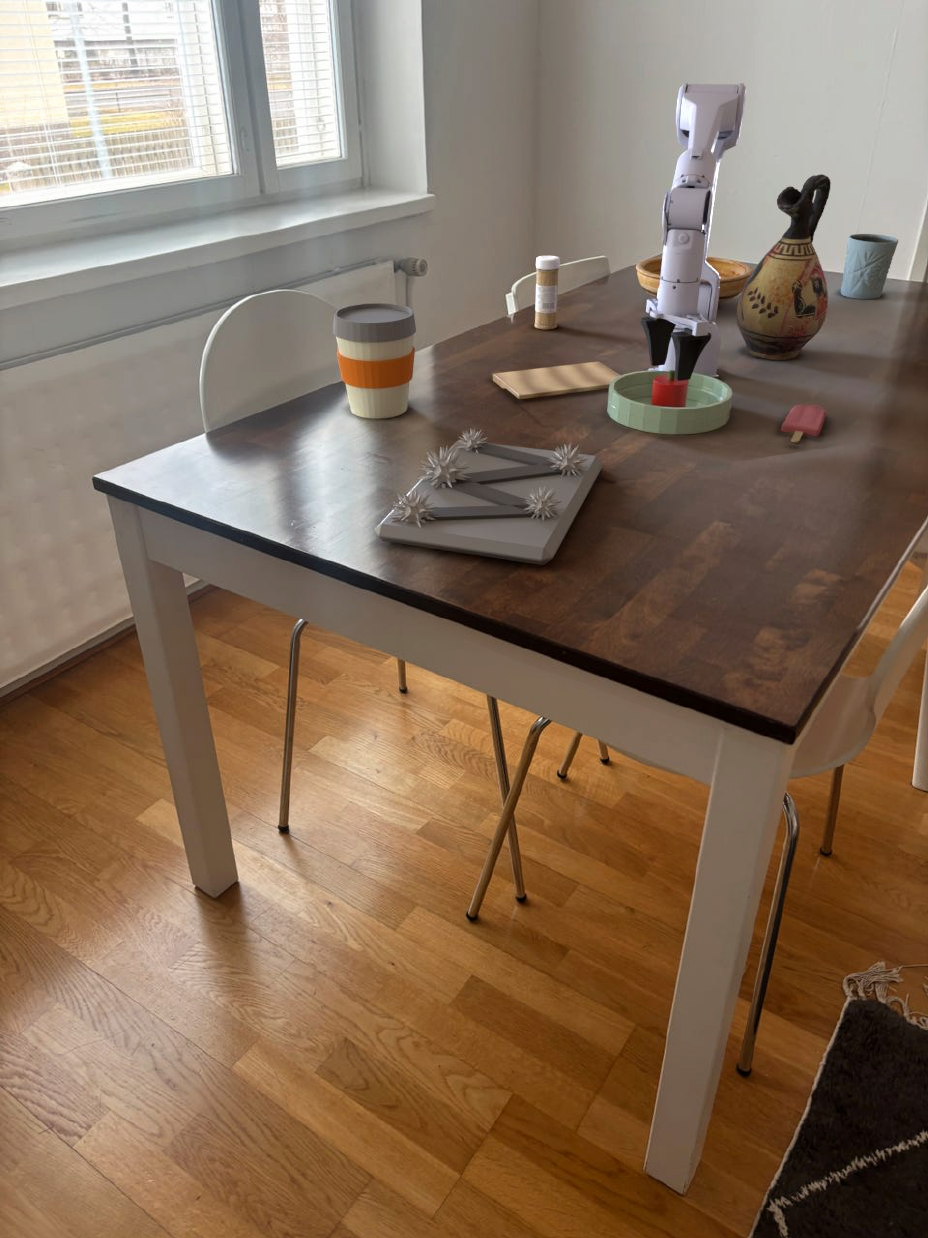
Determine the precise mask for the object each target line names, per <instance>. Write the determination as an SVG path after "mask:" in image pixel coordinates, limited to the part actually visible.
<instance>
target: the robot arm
mask: <svg viewBox="0 0 928 1238" xmlns="http://www.w3.org/2000/svg"><path fill="white" fill-rule="evenodd" d="M746 98H747V87H746V85H745V83H743V82H740V83H739V84H736V83H735V84H732V83H729V84H728V83H725V84H724V83H721V84H720V83H719V84H718V83H715V84H714V83H688V82H683V84H682V85H681V86H680V87H679V90H678V95H677V101H676V109H675V110H676V112H675V126H676V137H677V139H678V145H680V146H681V147H683V148H685V149H686V150H684V151H683V152H682V153H681V154H680V156H679V157H678V159H677V161H676V167H675V172H674V175H673V180H672V184H671V188H670V191H666V193H665V196H664V199H663V205H662V214H661V215H662V216H661V217H662V218H661V223H662V239H661V245H662V246H663V248H662V255H661V257H662V266H661V276H660V285H659V288H658V294H657V298H648V299H646V307H645V313H647V314H648V316H644V317H641V318H640V324H641V327H642V329H643V332H644V335H645V339H646V342H647V348H648V356H649V362H650V366H652V367H650V368H648V370H675V376H676V380H678V381H682V380H690V378H691V376H692V373H697V374H702V375H706V376H710V377H712V378H716V377H717V378H718V377H719V375H718V374H717V370H718V364H719V357H720V351H721V341H722V339H721V337H722V336H721V331H720V328H719V326H718V325H717V323H715V321H716V320H717V315H718V308H719V307H718V306H719V303H718V301H719V293H720V277H719V273H718V272H717V271H716V270H715V269H714V268H713V267H712V266H710V265H709V264H708V263H707V262H706V258H707V257H708V250H709V249H708V248H709V242H710V235H711V228H712V220H713V212H714V205H715V198H716V191H717V183H718V175H719V169H720V166H721V165H720V164H721V162H722V159H723V158H724V154H725V152H727V151H728V150H730V149H732V148H734V147H736V146H737V145H738V140H739V139H740V136H741V130H742V125H743V119H744V114H745V107H746ZM700 281H707V282H709V283H710V284H701V283H700Z"/></svg>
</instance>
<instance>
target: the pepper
mask: <svg viewBox="0 0 928 1238" xmlns="http://www.w3.org/2000/svg"><path fill="white" fill-rule="evenodd" d="M688 383H689V381H688V380H682V381H678V380H676V376H675V371H674V370H670V371H669V375H661V376H657V377H655V378H654V382H653V392H652V402H651V405H654V406H661V407H676V408H679V407H686V399H687V391H688Z"/></svg>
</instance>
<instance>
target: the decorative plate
mask: <svg viewBox="0 0 928 1238" xmlns="http://www.w3.org/2000/svg"><path fill="white" fill-rule="evenodd" d="M482 430H483V429H480V431H476V428H470V431H468V430H467V429H466V430H464V429H463V431H462V437H461V436H458V438H459V439H458V440H456V441H455V443H453V444H452V445H451V446H450V447H449V448H448V446H446V448H444V446H443V447H442V446H440V448H439V455H438V454H437V453H436V451H435V450H433V449H432V450H433V451H432V450H431V449H429V451H430V453H431V454H430V453H429V452H426V454H427V459H428V460H429V462H426V461H423V460H419V462H420V463H422V465H420V466H421V467H420V466H419V467H417V469H420V470H422V471H424V472H426V473H425V474H423V475H422V476H420V477H418V478H417V479H418V480H419V479H420V480H419V481H418V482H417V483H416V484H415V485H414V486H413V487H412V488H410V489H409V492H407V494H406V493H405V492H404V491H402V490H400V492H401V494H402V496H401V495H400V494H399V493H398V492H396V494H397V496H398V500H400V501H399V502H396V501H390V502H391V503H392V507H390V506H389V507H388V508H389V509H391V511H390V512H389V513H388V514H387V516H385V517H384V518H383V520H381V522H379V524H378V525H377V526H376V527H375V528H374V529H373V533H374V534H375V535H376V536H377V537H378V538H379V539H380V540H381V541H382V542H388V543H395V544H402V545H407V546H408V545H409V546H414V547H422V548H428V549H434V550H441V551H446V552H454V553H461V554H466V555H467V554H468V555H474V556H481V557H486V558H493V559H501V560H506V561H512V562H519V563H520V562H521V563H527V564H533V565H539V566H544V565H545V564H547V563H548V562H550V561H552V560H553V559H554V557H555V555H556V553H557V551H558V550H559V548H560V546H561V544H562V542H563V540H564V538H565V537H566V535H567V533H568V531H569V529H570V528H571V525H572V524H573V522H574V521H575V518H576V516H577V515H578V513H579V511H580V509H581V508H582V505H583V503H584V502H585V500H586V498H587V496H588V494H589V493H590V491H591V489H592V487H593V486H594V483H595V481H597V480H596V479H597V477H598V476H599V474H600V472H601V471H602V469H603V466H604V463H603V462H602V461H601V460H600V459H599V457H598V456H597V455H592V454H583V453H581V450H582V448H580V449H579V450H578V448H579V446H580V445H579V444H578V445H577V446H575V447H574V449H573V450H572V442H570V443H568V445H564V449H563V446H560V448H559V446H556V447H557V448H556V447H554V449H555V450H549V449H541V448H533V447H524V446H515V445H508V444H498V443H497V444H496V443H491V442H489V440H487V439H488V437H482V436H483V434H484V432H482ZM481 432H482V433H481Z"/></svg>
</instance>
